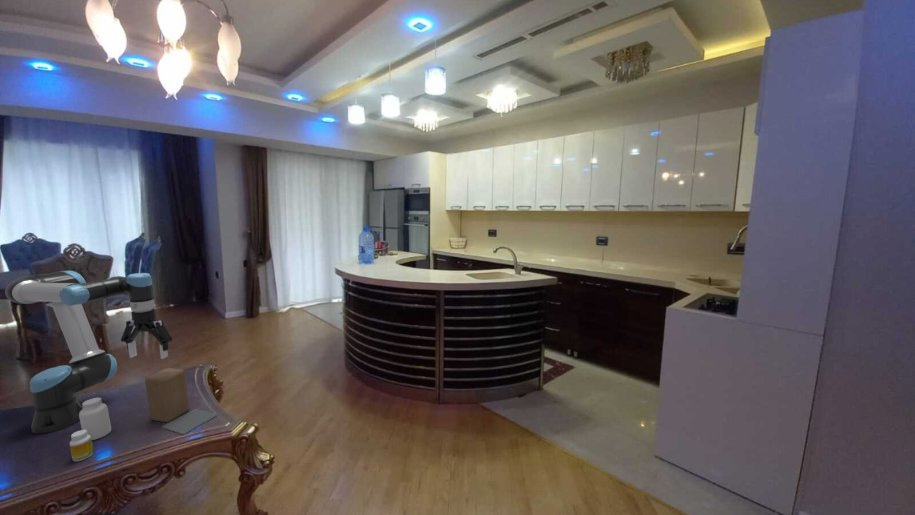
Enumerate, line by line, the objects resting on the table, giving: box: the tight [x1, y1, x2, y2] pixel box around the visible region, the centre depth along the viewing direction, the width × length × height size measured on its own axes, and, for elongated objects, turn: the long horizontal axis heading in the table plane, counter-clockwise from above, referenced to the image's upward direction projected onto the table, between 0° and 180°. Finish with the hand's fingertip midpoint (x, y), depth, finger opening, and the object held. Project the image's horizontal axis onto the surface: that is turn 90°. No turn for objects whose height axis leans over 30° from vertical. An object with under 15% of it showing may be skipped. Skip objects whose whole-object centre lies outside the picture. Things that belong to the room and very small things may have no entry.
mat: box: [160, 407, 218, 436], centre depth 150 cm, size 14×14×1 cm
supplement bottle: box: [69, 429, 94, 462], centre depth 128 cm, size 5×5×10 cm
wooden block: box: [144, 367, 190, 423], centre depth 152 cm, size 10×10×20 cm
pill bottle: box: [79, 397, 112, 441], centre depth 140 cm, size 8×8×15 cm
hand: (149, 357), depth 149 cm, fingers open, 13 cm apart
